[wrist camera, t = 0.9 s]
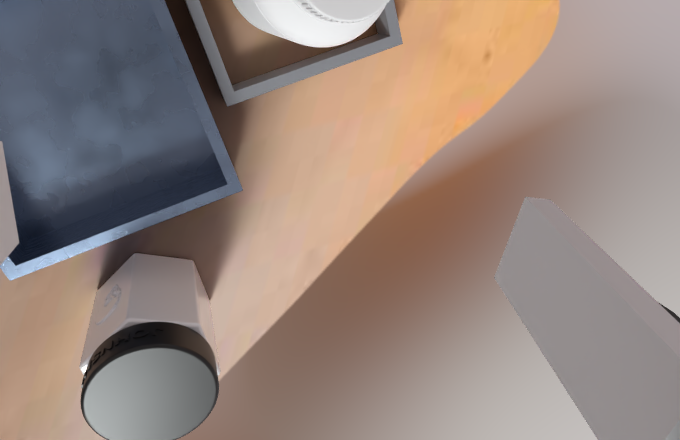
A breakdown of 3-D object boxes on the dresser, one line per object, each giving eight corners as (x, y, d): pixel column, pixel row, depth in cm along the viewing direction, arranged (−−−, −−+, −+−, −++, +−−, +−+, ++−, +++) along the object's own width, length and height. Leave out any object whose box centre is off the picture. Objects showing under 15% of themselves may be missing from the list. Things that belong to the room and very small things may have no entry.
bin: (28, 246, 36) (10, 280, 32) (-128, 23, 29) (-180, 28, 24) (234, 168, 39) (242, 190, 35) (141, -58, 31) (137, -65, 27)
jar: (151, 230, 39) (147, 316, 28) (229, 285, 43) (249, 378, 32) (74, 308, 39) (43, 421, 29) (158, 355, 43) (156, 468, 33)
